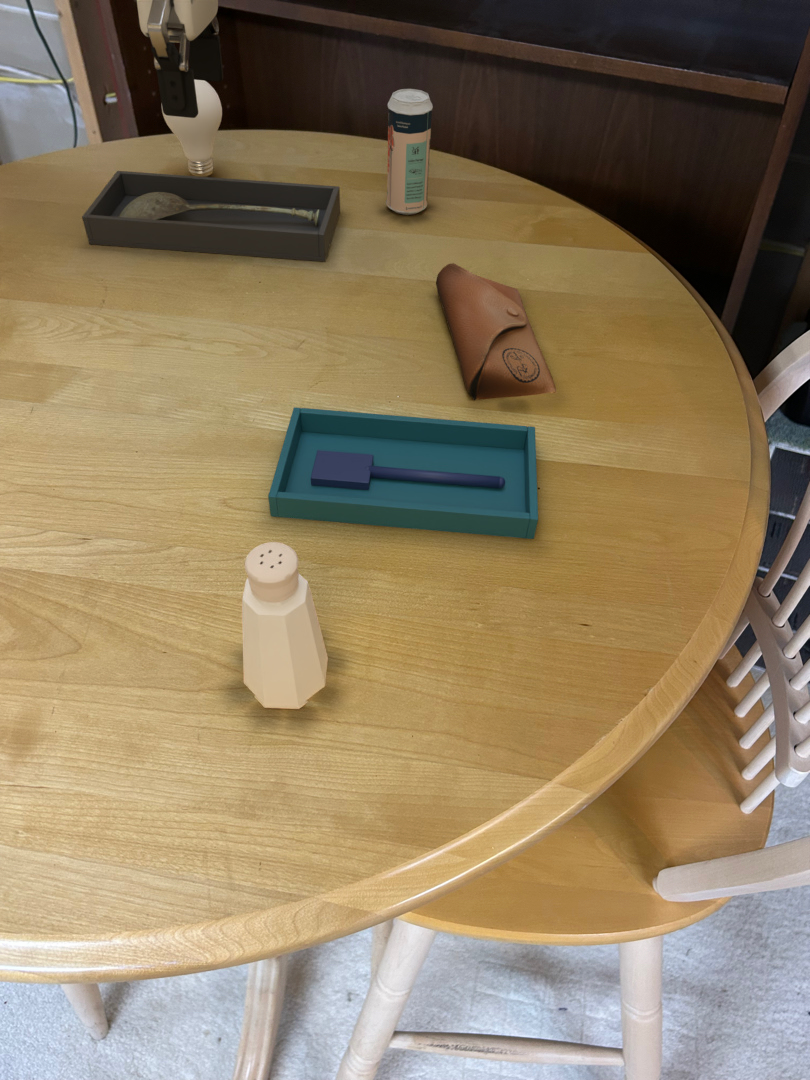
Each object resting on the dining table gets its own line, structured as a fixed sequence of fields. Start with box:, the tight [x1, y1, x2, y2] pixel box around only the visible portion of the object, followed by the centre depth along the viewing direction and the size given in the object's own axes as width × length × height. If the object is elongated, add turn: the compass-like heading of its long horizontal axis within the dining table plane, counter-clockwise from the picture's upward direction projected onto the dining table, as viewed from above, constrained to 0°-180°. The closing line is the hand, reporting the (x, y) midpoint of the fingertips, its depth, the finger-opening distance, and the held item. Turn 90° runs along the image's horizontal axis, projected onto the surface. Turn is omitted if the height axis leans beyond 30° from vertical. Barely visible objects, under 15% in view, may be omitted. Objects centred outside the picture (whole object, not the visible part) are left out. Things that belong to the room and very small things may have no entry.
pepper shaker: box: [241, 541, 329, 710], centre depth 46 cm, size 5×5×11 cm
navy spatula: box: [311, 450, 505, 490], centre depth 61 cm, size 15×3×1 cm, turn 85°
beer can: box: [385, 88, 434, 216], centre depth 89 cm, size 5×5×12 cm
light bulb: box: [161, 79, 223, 177], centre depth 92 cm, size 7×7×11 cm
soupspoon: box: [119, 192, 320, 226], centre depth 87 cm, size 22×3×7 cm
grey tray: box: [81, 170, 341, 262], centre depth 87 cm, size 25×11×3 cm, turn 85°
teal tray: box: [267, 406, 539, 540], centre depth 61 cm, size 19×10×2 cm, turn 85°
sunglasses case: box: [435, 262, 557, 401], centre depth 74 cm, size 18×7×7 cm
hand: (194, 96), depth 78 cm, fingers open, 9 cm apart
